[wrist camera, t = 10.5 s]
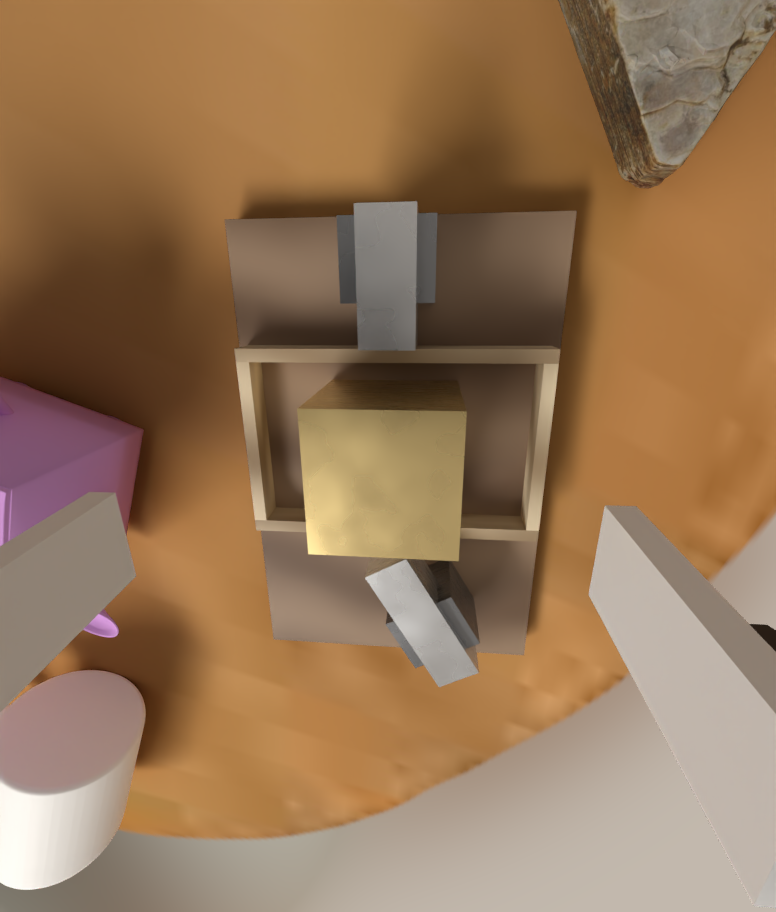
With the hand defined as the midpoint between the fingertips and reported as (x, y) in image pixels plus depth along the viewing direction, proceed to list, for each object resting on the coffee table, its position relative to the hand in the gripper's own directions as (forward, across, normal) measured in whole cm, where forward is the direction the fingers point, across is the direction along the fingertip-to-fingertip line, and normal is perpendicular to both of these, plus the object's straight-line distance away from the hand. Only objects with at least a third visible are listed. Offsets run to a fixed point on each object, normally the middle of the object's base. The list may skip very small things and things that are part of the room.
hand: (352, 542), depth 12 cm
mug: (+12, -23, -23) cm, 35 cm away
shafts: (+11, +2, -2) cm, 11 cm away
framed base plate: (+12, 0, -2) cm, 12 cm away
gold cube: (+11, 0, -1) cm, 11 cm away
